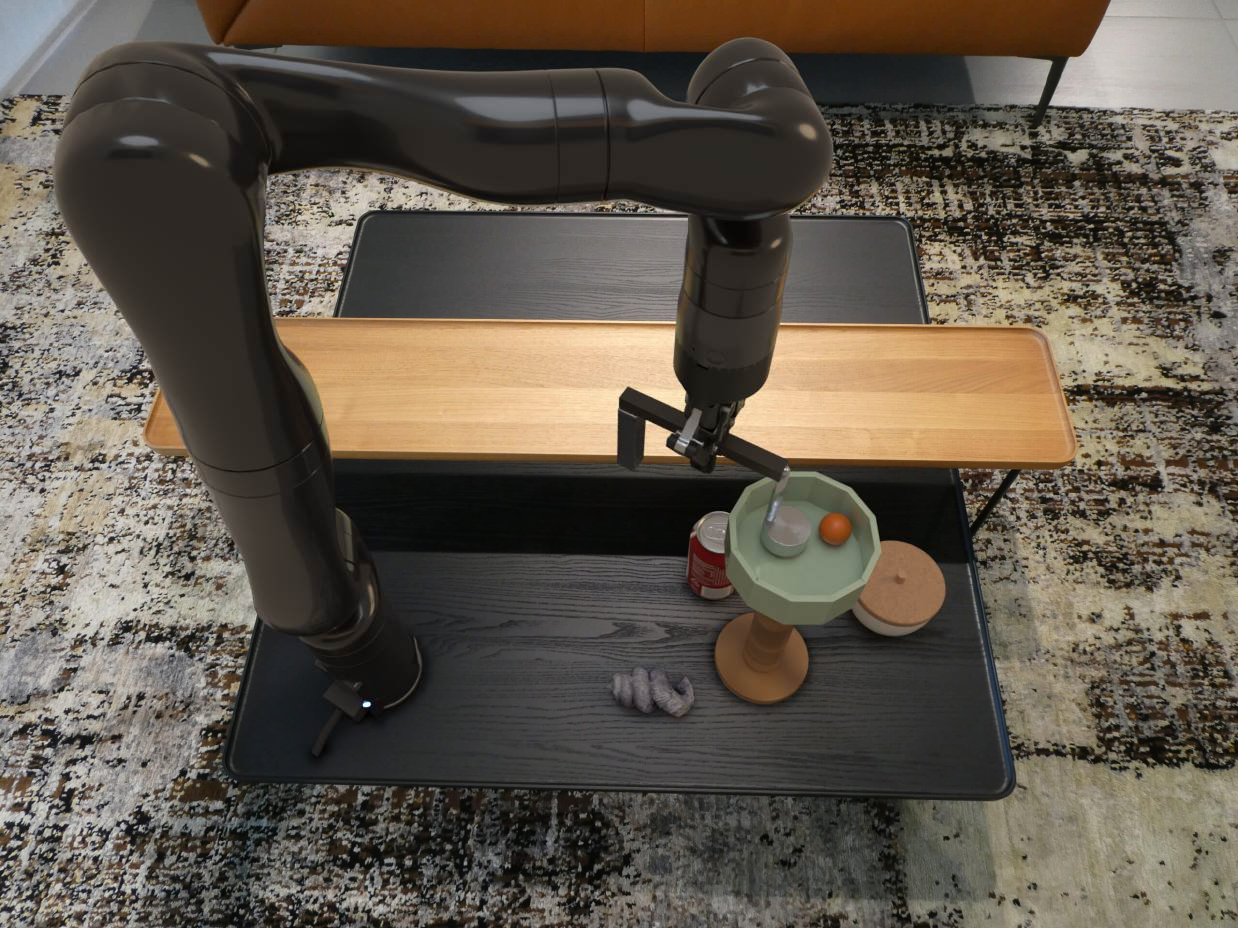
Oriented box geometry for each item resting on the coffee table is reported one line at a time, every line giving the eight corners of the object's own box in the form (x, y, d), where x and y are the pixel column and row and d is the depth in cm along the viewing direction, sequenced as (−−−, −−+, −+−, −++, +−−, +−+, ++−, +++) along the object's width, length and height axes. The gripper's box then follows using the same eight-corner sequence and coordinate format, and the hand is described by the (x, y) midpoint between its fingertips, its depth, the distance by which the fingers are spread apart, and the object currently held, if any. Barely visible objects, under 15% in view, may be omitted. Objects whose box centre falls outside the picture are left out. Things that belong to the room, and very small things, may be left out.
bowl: (832, 650, 74) (844, 628, 70) (700, 581, 78) (703, 556, 74) (887, 537, 80) (901, 510, 76) (762, 478, 84) (768, 449, 80)
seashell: (693, 699, 99) (609, 695, 100) (695, 660, 98) (609, 655, 98) (693, 727, 94) (604, 722, 95) (695, 685, 93) (605, 681, 93)
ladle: (814, 529, 79) (838, 468, 71) (795, 564, 77) (818, 505, 69) (632, 441, 85) (635, 376, 77) (610, 472, 83) (610, 407, 75)
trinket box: (936, 589, 105) (960, 554, 98) (913, 663, 100) (936, 633, 92) (853, 556, 108) (870, 519, 100) (826, 626, 103) (842, 594, 95)
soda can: (735, 606, 104) (746, 562, 94) (681, 596, 105) (686, 552, 95) (742, 558, 108) (753, 511, 98) (690, 549, 109) (695, 502, 99)
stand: (783, 721, 96) (826, 633, 75) (698, 674, 100) (716, 576, 78) (821, 643, 102) (872, 539, 80) (739, 600, 105) (767, 489, 83)
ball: (824, 550, 77) (857, 542, 77) (816, 518, 77) (848, 510, 77) (821, 546, 80) (853, 538, 80) (813, 515, 80) (844, 508, 80)
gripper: (723, 254, 66) (705, 391, 81) (635, 368, 60) (633, 496, 74) (811, 288, 64) (777, 423, 79) (730, 411, 58) (709, 534, 72)
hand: (707, 458), depth 76 cm, fingers closed on ladle
